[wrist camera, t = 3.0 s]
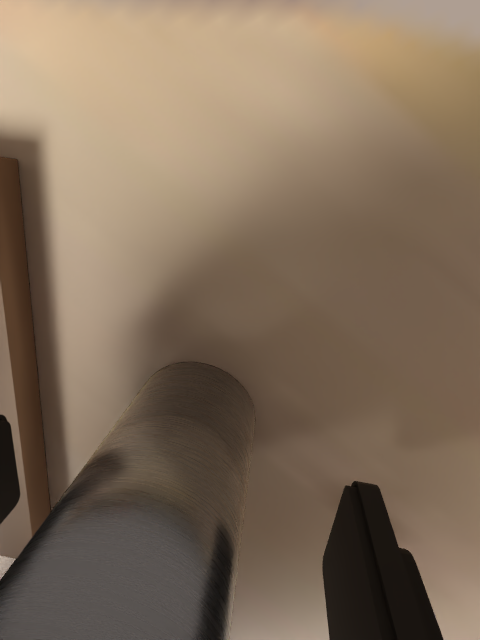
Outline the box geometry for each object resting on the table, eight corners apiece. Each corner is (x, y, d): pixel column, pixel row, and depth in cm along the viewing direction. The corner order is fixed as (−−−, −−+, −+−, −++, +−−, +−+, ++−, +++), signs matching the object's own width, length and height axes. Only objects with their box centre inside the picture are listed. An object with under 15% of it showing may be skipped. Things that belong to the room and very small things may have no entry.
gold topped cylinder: (189, 479, 14) (-8, 1085, 4) (115, 401, 13) (-333, 947, 3) (279, 430, 12) (272, 1139, 3) (203, 339, 12) (-133, 938, 2)
